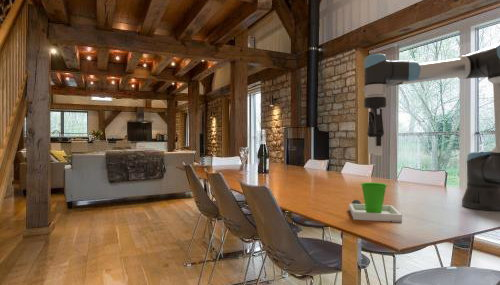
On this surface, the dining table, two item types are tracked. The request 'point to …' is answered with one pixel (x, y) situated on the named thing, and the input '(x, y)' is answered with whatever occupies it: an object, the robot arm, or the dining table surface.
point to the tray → (386, 215)
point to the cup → (373, 196)
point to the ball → (356, 202)
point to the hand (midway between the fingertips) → (374, 154)
